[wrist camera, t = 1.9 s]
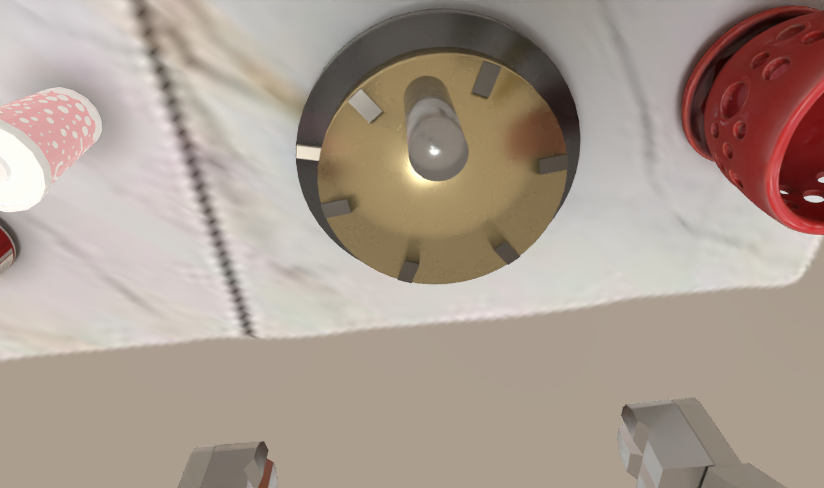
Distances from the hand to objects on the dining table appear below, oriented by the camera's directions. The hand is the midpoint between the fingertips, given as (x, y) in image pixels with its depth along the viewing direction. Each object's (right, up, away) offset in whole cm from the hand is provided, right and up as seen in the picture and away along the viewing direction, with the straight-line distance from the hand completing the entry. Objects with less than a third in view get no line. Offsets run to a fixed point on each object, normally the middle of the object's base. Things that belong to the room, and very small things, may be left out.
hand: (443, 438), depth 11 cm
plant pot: (+26, +17, +27) cm, 41 cm away
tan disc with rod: (+1, +10, +27) cm, 29 cm away
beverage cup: (-27, +14, +26) cm, 40 cm away
